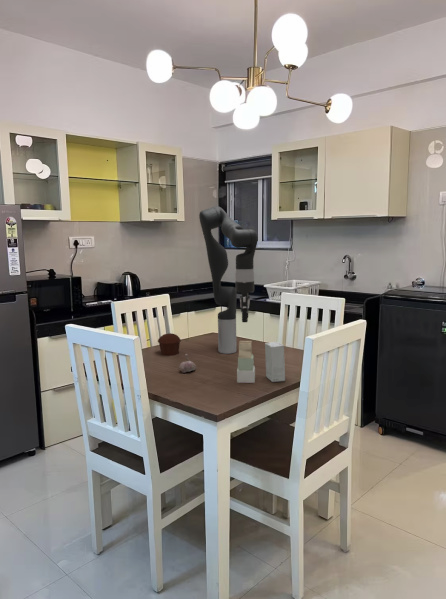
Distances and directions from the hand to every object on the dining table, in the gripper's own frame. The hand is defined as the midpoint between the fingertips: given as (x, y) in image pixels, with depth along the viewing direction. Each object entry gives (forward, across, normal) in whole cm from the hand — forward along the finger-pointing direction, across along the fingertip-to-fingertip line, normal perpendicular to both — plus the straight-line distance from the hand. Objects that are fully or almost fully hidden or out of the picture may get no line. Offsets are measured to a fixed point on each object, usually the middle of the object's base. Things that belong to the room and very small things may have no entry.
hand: (245, 320), depth 183 cm
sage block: (+20, 0, 0) cm, 20 cm away
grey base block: (+25, 0, 0) cm, 25 cm away
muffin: (+26, -40, -40) cm, 62 cm away
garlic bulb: (+25, -10, -26) cm, 38 cm away
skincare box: (+25, -1, +12) cm, 28 cm away
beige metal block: (+15, 0, 0) cm, 15 cm away
